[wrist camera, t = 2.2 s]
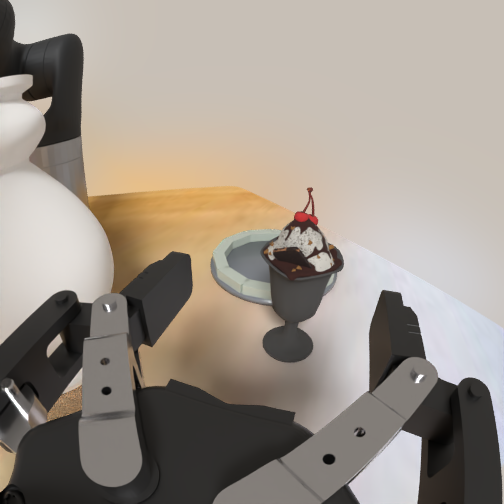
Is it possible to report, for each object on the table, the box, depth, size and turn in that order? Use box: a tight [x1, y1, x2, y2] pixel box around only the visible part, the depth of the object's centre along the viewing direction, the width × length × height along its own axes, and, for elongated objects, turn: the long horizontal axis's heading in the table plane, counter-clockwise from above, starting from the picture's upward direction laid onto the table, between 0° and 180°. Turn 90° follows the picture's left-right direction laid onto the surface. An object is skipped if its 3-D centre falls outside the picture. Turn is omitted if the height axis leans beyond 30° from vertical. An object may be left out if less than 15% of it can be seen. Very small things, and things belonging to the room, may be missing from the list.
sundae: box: [260, 188, 344, 362], centre depth 25 cm, size 7×7×15 cm
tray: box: [211, 229, 337, 306], centre depth 41 cm, size 17×17×2 cm
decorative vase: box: [0, 74, 114, 394], centre depth 19 cm, size 18×18×25 cm
